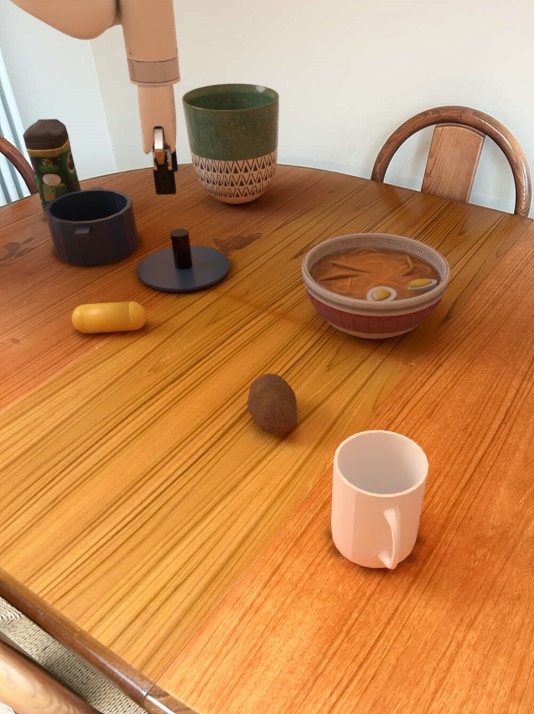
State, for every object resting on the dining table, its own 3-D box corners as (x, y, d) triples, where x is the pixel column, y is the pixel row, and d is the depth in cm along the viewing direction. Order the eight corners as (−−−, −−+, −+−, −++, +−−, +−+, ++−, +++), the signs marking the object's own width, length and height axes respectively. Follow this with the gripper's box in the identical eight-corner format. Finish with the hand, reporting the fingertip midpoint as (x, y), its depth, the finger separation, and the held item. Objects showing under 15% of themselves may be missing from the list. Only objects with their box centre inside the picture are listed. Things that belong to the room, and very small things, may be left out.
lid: (134, 297, 113) (127, 257, 108) (142, 253, 126) (135, 215, 121) (231, 291, 114) (227, 251, 110) (228, 248, 127) (225, 210, 122)
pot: (46, 275, 119) (34, 231, 114) (65, 225, 135) (55, 185, 130) (133, 270, 120) (125, 227, 115) (142, 221, 137) (135, 181, 131)
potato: (259, 449, 84) (256, 412, 80) (240, 403, 91) (236, 367, 87) (307, 438, 85) (307, 401, 81) (285, 393, 93) (284, 357, 89)
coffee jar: (51, 204, 144) (29, 115, 132) (88, 203, 144) (68, 115, 132) (40, 223, 136) (15, 131, 124) (79, 222, 137) (57, 130, 125)
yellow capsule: (73, 340, 103) (66, 315, 100) (77, 324, 107) (71, 299, 104) (147, 335, 104) (143, 310, 101) (149, 319, 108) (145, 295, 105)
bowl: (454, 360, 98) (464, 302, 92) (302, 361, 98) (302, 303, 92) (430, 283, 116) (437, 231, 110) (301, 284, 116) (300, 232, 110)
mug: (388, 493, 78) (397, 420, 70) (445, 570, 69) (462, 496, 62) (316, 519, 75) (317, 445, 67) (367, 603, 66) (375, 529, 59)
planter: (292, 187, 150) (291, 87, 137) (263, 222, 136) (259, 114, 122) (214, 178, 155) (205, 80, 141) (178, 211, 141) (165, 105, 127)
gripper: (133, 56, 104) (147, 164, 115) (123, 86, 91) (141, 204, 102) (180, 56, 105) (191, 163, 116) (178, 85, 92) (189, 202, 103)
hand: (167, 182), depth 109 cm, fingers open, 9 cm apart
